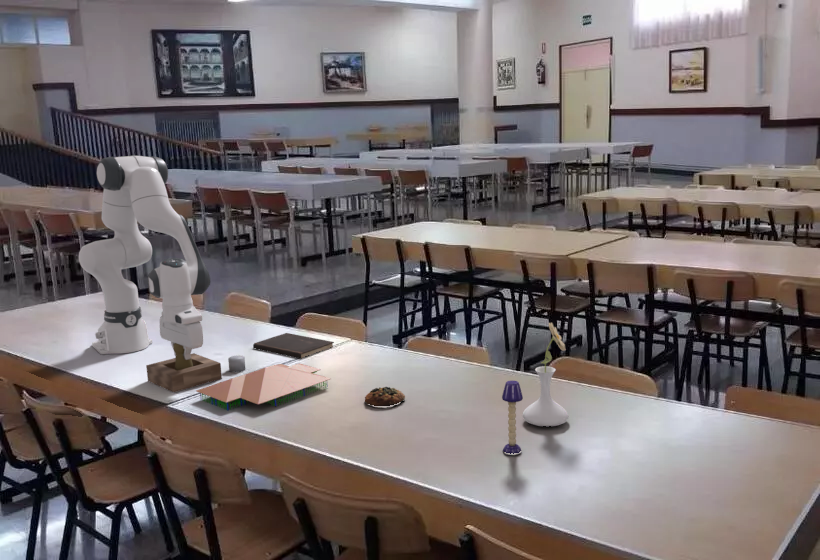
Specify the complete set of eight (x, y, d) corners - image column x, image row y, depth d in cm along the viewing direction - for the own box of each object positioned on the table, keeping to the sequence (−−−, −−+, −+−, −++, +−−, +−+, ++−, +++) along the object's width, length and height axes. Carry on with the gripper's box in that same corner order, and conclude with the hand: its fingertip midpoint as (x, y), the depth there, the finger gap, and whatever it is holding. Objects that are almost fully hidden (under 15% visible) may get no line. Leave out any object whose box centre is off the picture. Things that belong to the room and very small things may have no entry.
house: (338, 386, 228) (337, 360, 227) (245, 420, 205) (242, 391, 203) (289, 371, 244) (287, 346, 242) (196, 401, 220) (194, 374, 218)
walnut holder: (147, 380, 238) (146, 365, 237) (195, 368, 249) (193, 353, 248) (173, 392, 227) (171, 376, 226) (221, 378, 238) (220, 363, 237)
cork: (189, 380, 234) (185, 344, 232) (170, 379, 236) (167, 344, 233) (198, 373, 240) (195, 339, 238) (181, 373, 241) (177, 338, 239)
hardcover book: (287, 338, 281) (286, 332, 281) (334, 348, 268) (333, 341, 267) (253, 350, 269) (252, 343, 268) (301, 360, 255) (300, 353, 255)
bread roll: (374, 411, 206) (373, 393, 206) (358, 404, 216) (357, 386, 216) (412, 405, 211) (410, 387, 211) (394, 398, 221) (393, 381, 221)
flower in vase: (558, 434, 188) (558, 333, 183) (514, 425, 194) (514, 328, 189) (577, 416, 199) (578, 320, 194) (535, 408, 205) (535, 316, 200)
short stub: (226, 370, 246) (225, 358, 245) (239, 366, 250) (238, 354, 249) (234, 373, 243) (233, 361, 242) (248, 369, 246) (247, 357, 245)
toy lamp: (500, 447, 181) (499, 379, 178) (520, 446, 182) (520, 378, 178) (504, 456, 177) (504, 386, 173) (525, 455, 177) (524, 385, 174)
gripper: (152, 309, 239) (156, 353, 242) (185, 320, 224) (190, 366, 227) (171, 306, 243) (175, 348, 246) (205, 316, 229) (209, 361, 232)
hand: (182, 357), depth 236 cm, fingers closed on cork, 4 cm apart
